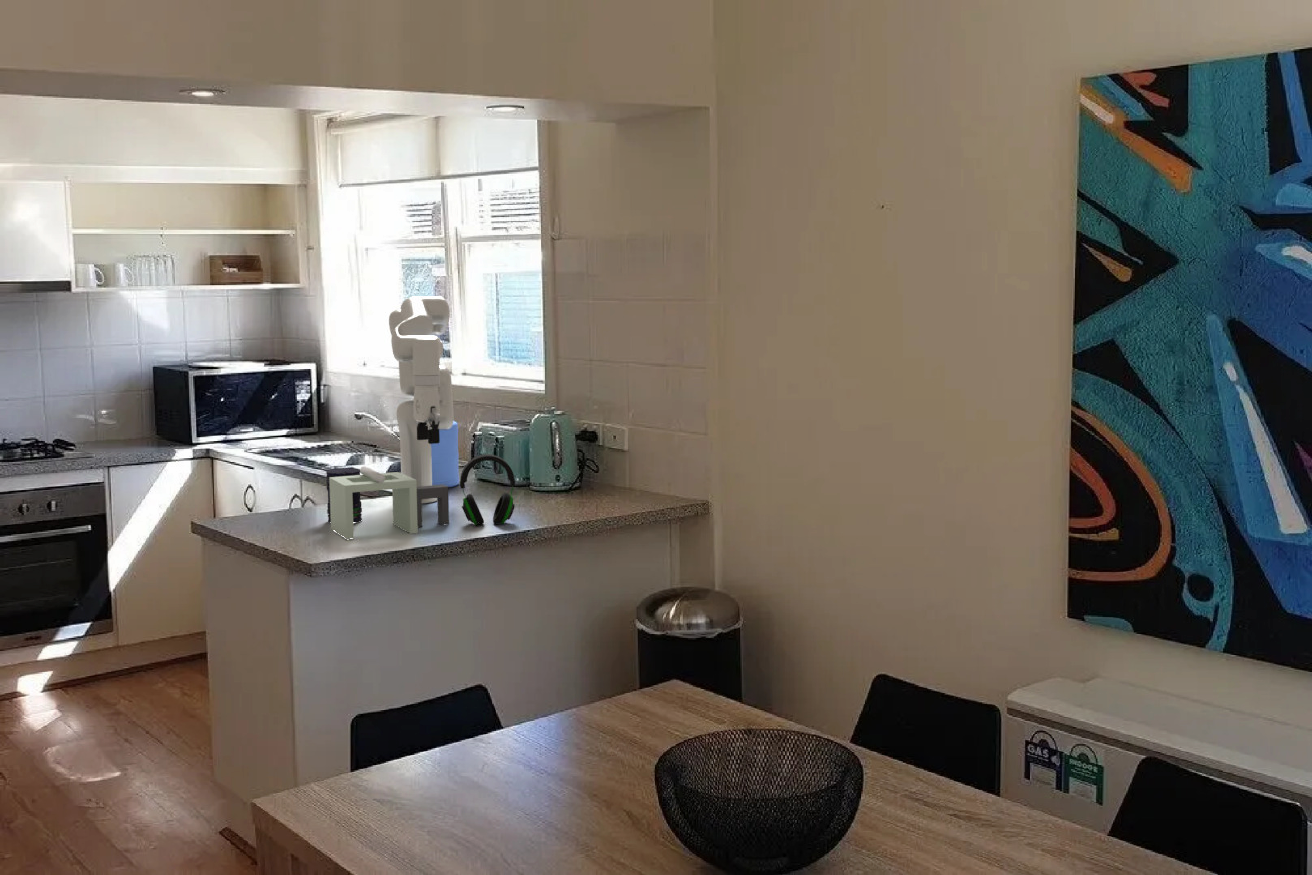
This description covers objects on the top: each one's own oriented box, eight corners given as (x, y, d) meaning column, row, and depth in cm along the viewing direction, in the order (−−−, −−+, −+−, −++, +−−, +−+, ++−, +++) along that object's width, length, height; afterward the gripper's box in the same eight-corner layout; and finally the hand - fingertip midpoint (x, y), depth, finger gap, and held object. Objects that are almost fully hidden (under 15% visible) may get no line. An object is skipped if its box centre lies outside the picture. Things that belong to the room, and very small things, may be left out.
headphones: (517, 526, 399) (516, 456, 396) (462, 528, 395) (460, 458, 393) (513, 520, 408) (512, 452, 405) (459, 522, 405) (458, 453, 402)
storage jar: (324, 519, 409) (323, 469, 407) (358, 517, 413) (356, 466, 411) (331, 525, 400) (329, 474, 398) (365, 523, 404) (363, 471, 402)
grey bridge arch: (411, 525, 400) (410, 487, 399) (444, 522, 405) (443, 484, 403) (415, 527, 397) (414, 489, 395) (449, 524, 401) (448, 486, 400)
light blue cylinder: (468, 483, 471) (467, 401, 468) (437, 490, 458) (435, 405, 454) (433, 479, 480) (431, 398, 476) (402, 486, 466) (399, 402, 463)
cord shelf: (331, 530, 394) (328, 468, 391) (400, 523, 403) (398, 463, 400) (346, 540, 380) (344, 476, 377) (417, 533, 389) (416, 471, 386)
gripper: (404, 379, 401) (405, 439, 403) (423, 384, 386) (425, 445, 388) (429, 378, 405) (430, 437, 407) (449, 383, 389) (451, 444, 391)
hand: (428, 441), depth 397 cm, fingers open, 9 cm apart
